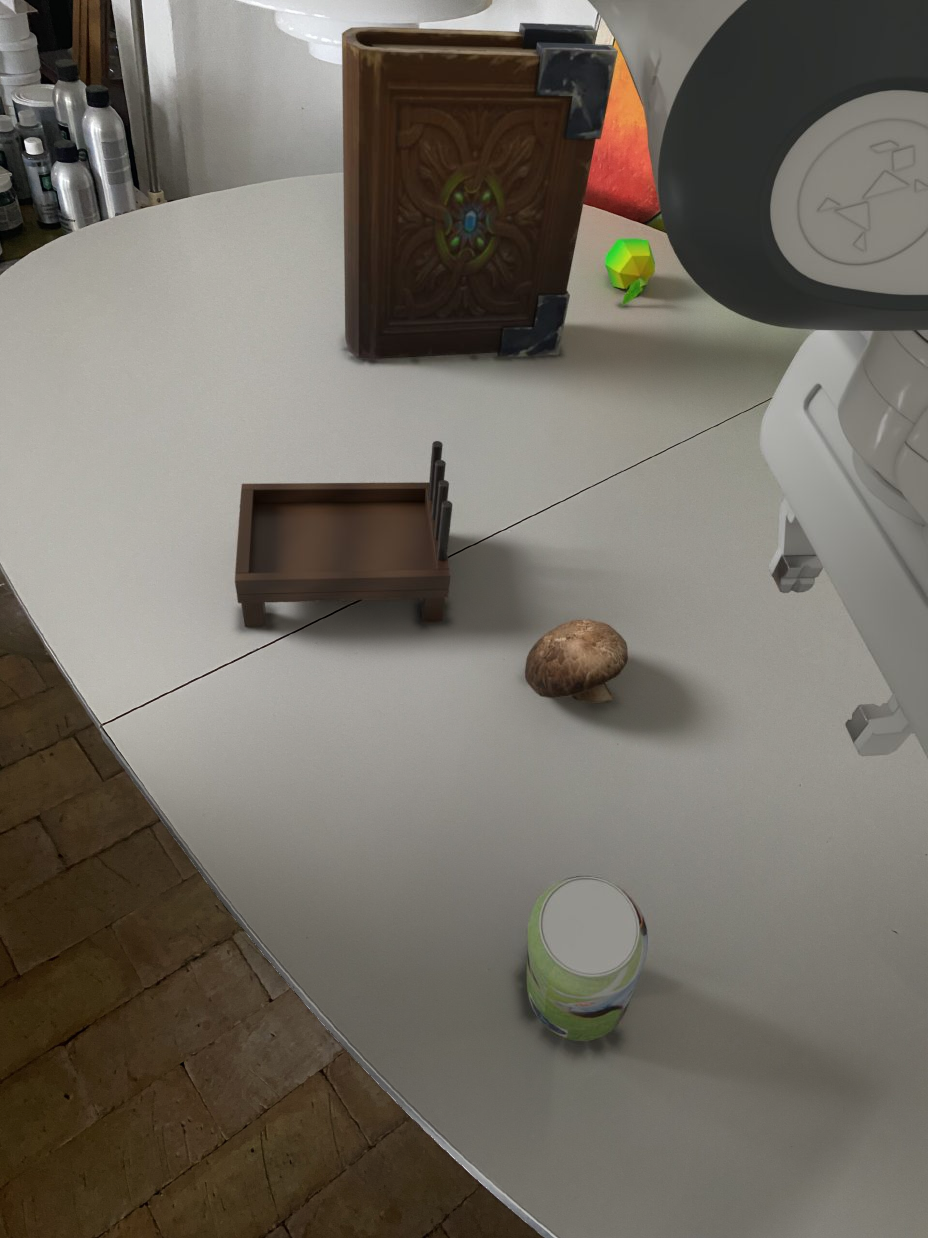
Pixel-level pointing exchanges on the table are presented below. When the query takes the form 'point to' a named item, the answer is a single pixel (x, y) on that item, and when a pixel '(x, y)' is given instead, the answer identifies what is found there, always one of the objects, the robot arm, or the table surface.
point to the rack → (344, 543)
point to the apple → (630, 266)
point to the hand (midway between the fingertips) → (824, 656)
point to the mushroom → (577, 661)
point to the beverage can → (584, 956)
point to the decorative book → (466, 184)
